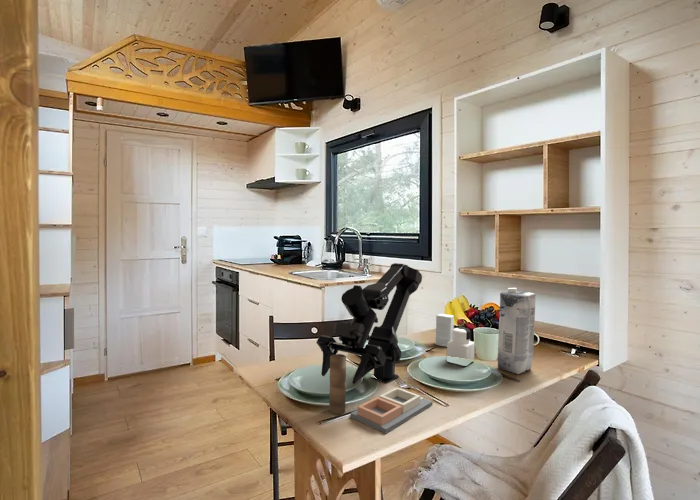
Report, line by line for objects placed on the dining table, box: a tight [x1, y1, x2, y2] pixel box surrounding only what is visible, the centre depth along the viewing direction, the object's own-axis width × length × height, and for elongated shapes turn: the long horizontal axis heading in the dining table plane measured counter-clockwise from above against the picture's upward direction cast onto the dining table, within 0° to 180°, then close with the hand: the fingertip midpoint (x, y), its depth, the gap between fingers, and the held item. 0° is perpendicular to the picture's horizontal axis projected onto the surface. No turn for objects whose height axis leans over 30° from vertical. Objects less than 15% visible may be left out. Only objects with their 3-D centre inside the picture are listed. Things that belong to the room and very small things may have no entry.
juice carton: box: [497, 287, 537, 375], centre depth 132 cm, size 9×10×27 cm
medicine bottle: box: [446, 326, 475, 361], centre depth 138 cm, size 7×7×12 cm
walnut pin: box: [328, 353, 347, 416], centre depth 100 cm, size 4×4×14 cm
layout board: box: [350, 386, 434, 434], centre depth 101 cm, size 20×11×3 cm, turn 137°
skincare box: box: [435, 313, 455, 348], centre depth 158 cm, size 6×4×12 cm
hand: (337, 379), depth 100 cm, fingers open, 9 cm apart
